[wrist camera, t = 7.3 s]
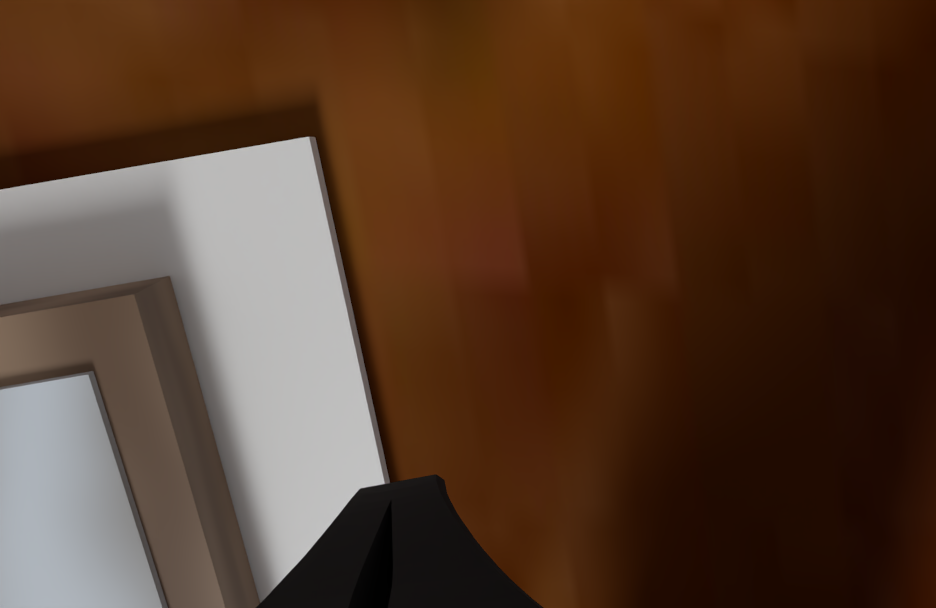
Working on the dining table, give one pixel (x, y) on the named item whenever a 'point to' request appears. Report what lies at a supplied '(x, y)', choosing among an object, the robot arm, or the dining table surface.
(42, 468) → the frame
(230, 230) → the wall board
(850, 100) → the dining table surface
